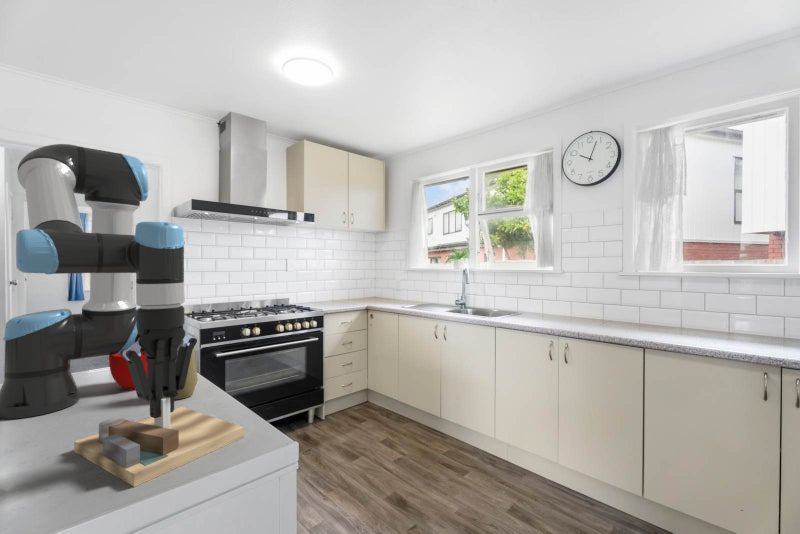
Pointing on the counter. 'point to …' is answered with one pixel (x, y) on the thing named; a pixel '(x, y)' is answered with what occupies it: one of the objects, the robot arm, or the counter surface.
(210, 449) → the wooden flat board
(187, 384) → the squeeze bottle
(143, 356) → the ceramic cup
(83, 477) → the counter surface
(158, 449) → the hinged leg
